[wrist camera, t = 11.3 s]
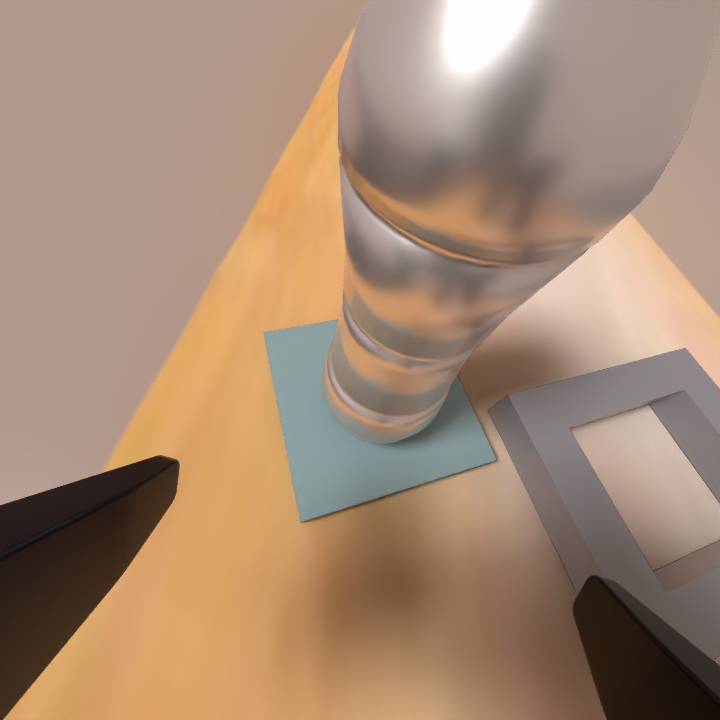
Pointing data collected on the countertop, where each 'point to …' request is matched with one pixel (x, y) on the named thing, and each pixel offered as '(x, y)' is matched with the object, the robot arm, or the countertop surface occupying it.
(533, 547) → the countertop surface
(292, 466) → the coaster
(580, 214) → the plastic bottle
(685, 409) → the pocket holder
